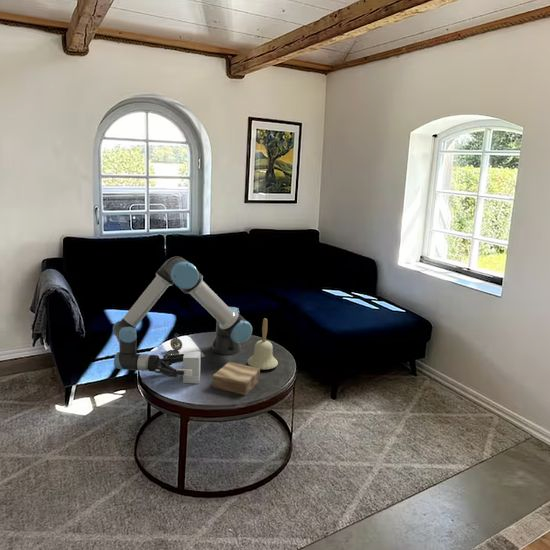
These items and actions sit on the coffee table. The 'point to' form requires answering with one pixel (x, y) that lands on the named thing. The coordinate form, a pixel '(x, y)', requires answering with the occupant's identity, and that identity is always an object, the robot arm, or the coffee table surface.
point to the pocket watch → (175, 346)
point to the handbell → (263, 352)
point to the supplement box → (192, 366)
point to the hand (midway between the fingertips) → (195, 366)
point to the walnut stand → (236, 378)
